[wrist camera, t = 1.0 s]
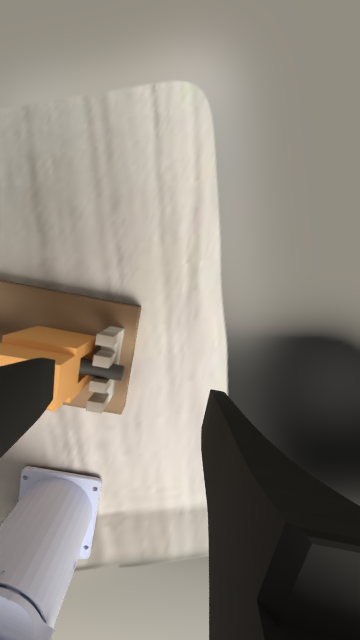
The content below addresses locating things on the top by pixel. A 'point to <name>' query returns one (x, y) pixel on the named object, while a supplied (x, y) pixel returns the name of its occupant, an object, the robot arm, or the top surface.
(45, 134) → the top surface
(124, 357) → the cord board
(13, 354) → the orange notched block
